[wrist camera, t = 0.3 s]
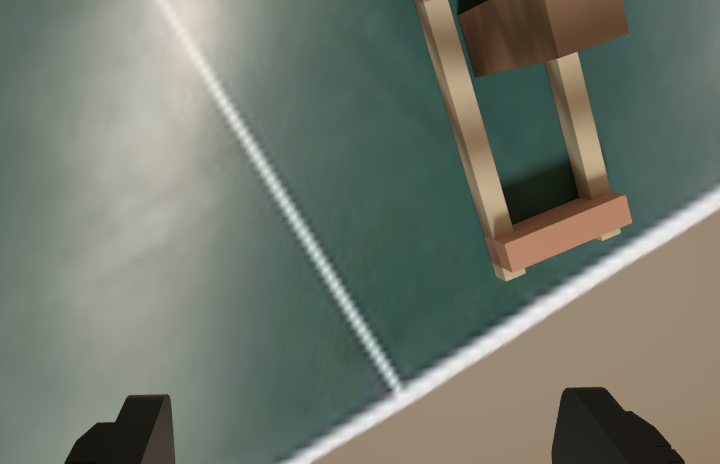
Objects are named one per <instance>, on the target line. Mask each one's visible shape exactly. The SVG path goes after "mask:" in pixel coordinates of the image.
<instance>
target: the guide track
mask: <svg viewBox="0 0 720 464" xmlns="http://www.w3.org/2000/svg"><path fill="white" fill-rule="evenodd" d="M414 3H415V6H416V9H417V13H418V16H419V19H420V23H421V26H422V30H423V33H424V36H425V40H426V43H427V46H428V50H429V53H430V56H431V60H432V63H433V66H434V70H435V73H436V76H437V80H438V83H439V87H440V90H441V93H442V97H443V100H444V103H445V107H446V110H447V113H448V117H449V120H450V123H451V127H452V130H453V133H454V137H455V140H456V143H457V147H458V150H459V154H460V157H461V160H462V164H463V167H464V170H465V174H466V177H467V180H468V184H469V187H470V190H471V194H472V197H473V200H474V204H475V207H476V211H477V214H478V217H479V221H480V224H481V227H482V231H483V234H484V237H485V241H486V244H487V247H488V251H489V254H490V257H491V261H492V264H493V268H494V271H495V274H496V276H497V277H499V278H501V279H502V280H504V281H508V280H511V279H513V278H515V277H518V276H520V275H522V274H525V273H526V272H525V269H524V268H526V267H528V266H530V265H533V264H535V263H538V262H540V261H542V260H545V259H547V258H549V257H552V256H554V255H557V254H559V253H561V252H564V251H566V250H568V249H571V248H573V247H576V246H578V245H580V244H583V243H585V242H587V241H590V240H592V239H598V240H601V241H603V240H605V239H608V238H610V237H613V236H615V235H617V234H620V233H621V231H620V228H621V227H623V226H626V225H628V224H630V223H632V220H631V216H630V211H629V207H628V203H627V199H626V195H625V194H618V193H612V192H611V190H610V186H609V182H608V177H607V173H606V169H605V165H604V161H603V157H602V152H601V148H600V144H599V140H598V136H597V132H596V128H595V123H594V119H593V115H592V111H591V107H590V103H589V99H588V94H587V90H586V86H585V82H584V78H583V74H582V69H581V65H580V61H579V57H578V53H577V52H576V53H573V54H570V55H567V56H564V57H562V58H559V59H554V60H550V61H546V62H545V65H546V69H547V73H548V77H549V81H550V85H551V89H552V93H553V97H554V100H555V104H556V108H557V112H558V116H559V120H560V124H561V128H562V132H563V136H564V140H565V144H566V148H567V151H568V155H569V159H570V163H571V167H572V171H573V175H574V179H575V183H576V187H577V191H578V195H579V198H578V199H575V200H573V201H570V202H568V203H565V204H563V205H561V206H558V207H556V208H553V209H551V210H548V211H546V212H543V213H541V214H538V215H536V216H533V217H531V218H528V219H526V220H524V221H521V222H519V223H516V224H514V225H512V223H511V220H510V216H509V213H508V209H507V206H506V202H505V199H504V195H503V192H502V188H501V185H500V181H499V178H498V174H497V171H496V167H495V164H494V160H493V157H492V153H491V150H490V146H489V143H488V139H487V136H486V132H485V129H484V125H483V122H482V118H481V115H480V111H479V108H478V104H477V101H476V97H475V93H474V90H473V86H472V83H471V79H470V76H469V72H468V69H467V65H466V62H465V58H464V55H463V51H462V48H461V44H460V41H459V37H458V34H457V30H456V27H455V23H454V20H453V16H452V13H451V9H450V6H449V2H448V0H414Z"/></svg>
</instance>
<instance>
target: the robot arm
mask: <svg viewBox="0 0 720 464" xmlns="http://www.w3.org/2000/svg"><path fill="white" fill-rule="evenodd" d="M65 464H175V450H174V436H173V423H172V409H171V400H170V396H169V395H168V394H162V395H129V396H128V397H127V398H126V400H125V402H124V404H123V406H122V409H121V411H120V413H119V415H118V417H117V419H116V421H115V422H105V423H96V424H95V425H94V426H93V427H92V428H91V429H90V430H88V431H87V432H86V433H85V434H84V435H83V436H81V437H80V438H79V439H78V440H77V441H76V442H75V444H74V446H73V448H72V450H71V451H70V453H69V455H68V457H67V459H66V461H65ZM552 464H685V462H684V460H683V459H682V458H681V456H680V455H679V454H678V453H677V452H676V451H675V450H674V449H671V445H670V444H669V443H668V442H667V440H666V439H665V438H664V437H663V436H662V435H661V434H660V432H659V431H658V430H657V429H656V428H655V427H654V426H652V425H651V424H649V423H648V422H647V421H645V420H643V419H642V418H641V417H639V416H638V415H636V414H634V413H633V412H632V411H624V410H623V409H622V407H621V406H620V405H619V404H618V403H617V401H616V400H615V399H614V398H613V396H611V394H610V393H609V392H608V391H607V390H606V389H605V388H602V387H581V388H566V389H565V390H564V391H563V393H562V396H561V401H560V406H559V412H558V418H557V423H556V428H555V434H554V439H553V445H552Z"/></svg>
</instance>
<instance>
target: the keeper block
mask: <svg viewBox="0 0 720 464" xmlns="http://www.w3.org/2000/svg"><path fill="white" fill-rule="evenodd" d="M458 19H459V23H460V26H461V30H462V33H463V37H464V41H465V44H466V48H467V51H468V55H469V58H470V62H471V65H472V69H473V72H474V76H475V77H480V76H484V75H488V74H493V73H497V72H502V71H506V70H510V69H515V68H519V67H524V66H528V65H532V64H537V63H541V62H546V61H550V60H554V59H559V58H562V57H564V56H567V55H570V54H573V53H576V52H578V51H581V50H584V49H587V48H589V47H592V46H595V45H598V44H600V43H603V42H606V41H609V40H611V39H614V38H617V37H620V36H622V35H625V34H628V33H629V30H628V25H627V21H626V16H625V12H624V7H623V3H622V0H488V1H486V2H484V3H482V4H480V5H478V6H476V7H474V8H472V9H470V10H468V11H466V12H464V13H462V14H460V15H458Z"/></svg>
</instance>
